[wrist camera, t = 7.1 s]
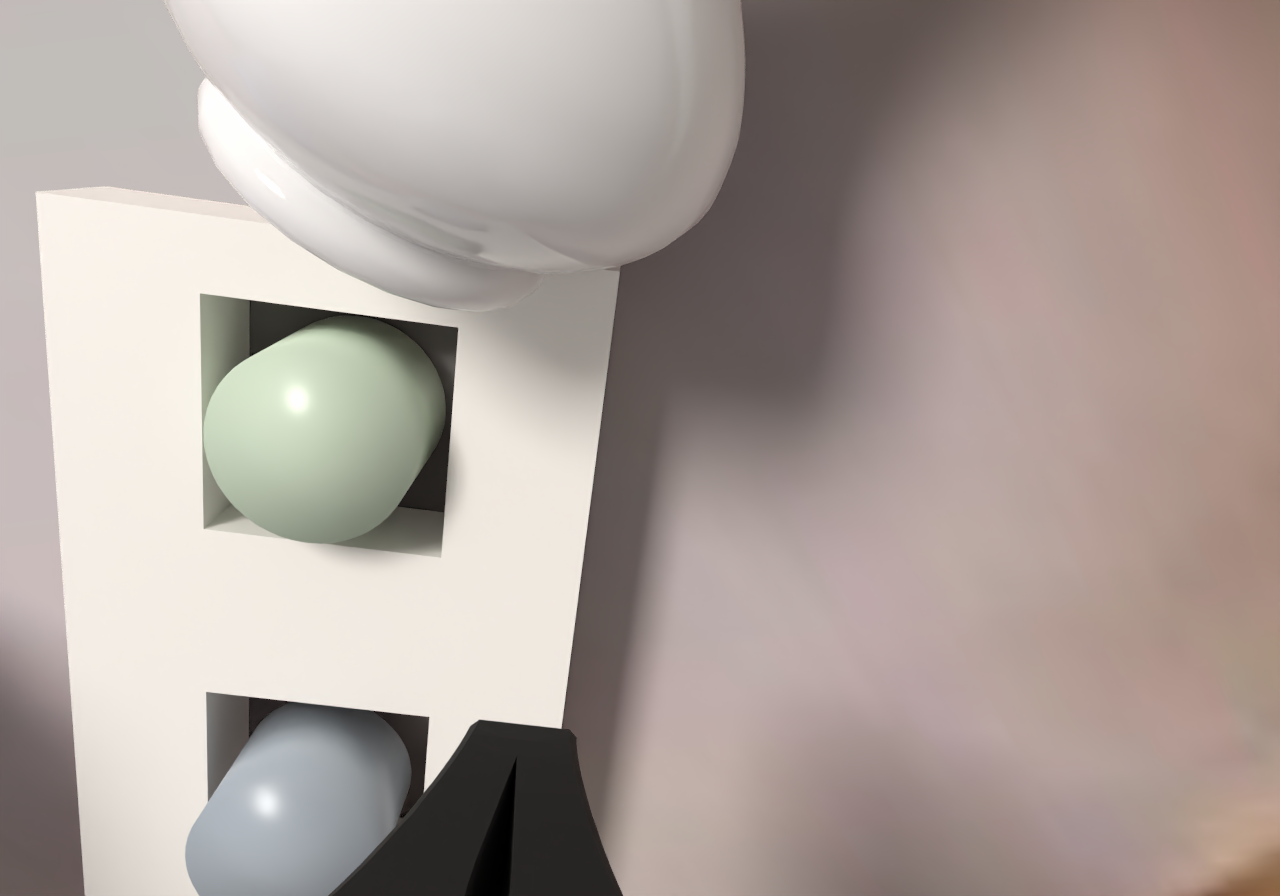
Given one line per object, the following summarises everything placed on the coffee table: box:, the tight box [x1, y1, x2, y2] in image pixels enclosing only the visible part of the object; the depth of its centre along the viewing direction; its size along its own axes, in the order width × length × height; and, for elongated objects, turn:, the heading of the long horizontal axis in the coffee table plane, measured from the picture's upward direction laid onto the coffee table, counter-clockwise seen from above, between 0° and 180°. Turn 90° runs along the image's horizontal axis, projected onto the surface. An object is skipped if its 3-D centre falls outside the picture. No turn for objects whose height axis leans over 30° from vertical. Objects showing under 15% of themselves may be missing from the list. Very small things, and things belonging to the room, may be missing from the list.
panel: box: [36, 186, 621, 896], centre depth 22 cm, size 11×26×2 cm, turn 172°
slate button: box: [185, 702, 411, 896], centre depth 21 cm, size 4×4×3 cm
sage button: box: [203, 315, 446, 544], centre depth 19 cm, size 4×4×3 cm
